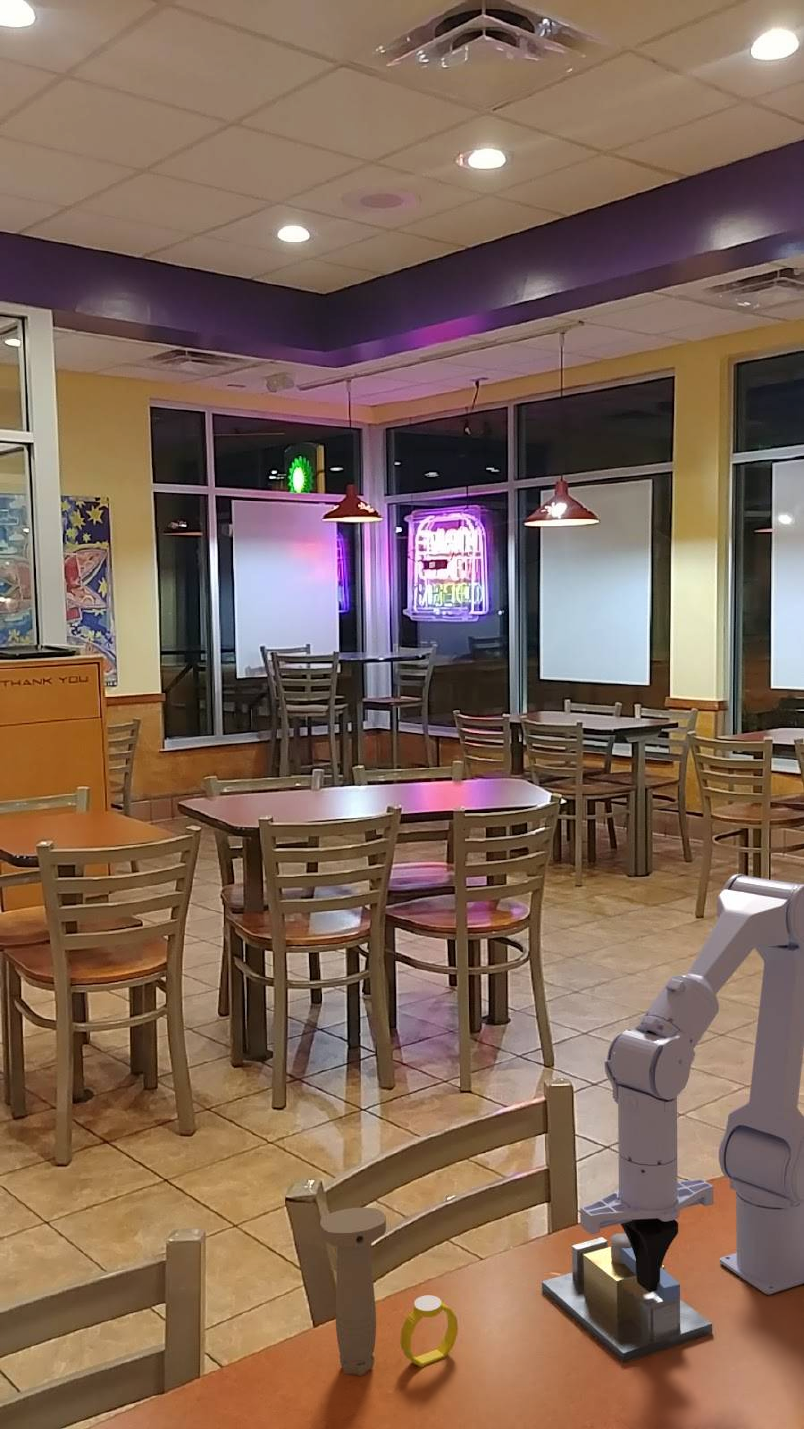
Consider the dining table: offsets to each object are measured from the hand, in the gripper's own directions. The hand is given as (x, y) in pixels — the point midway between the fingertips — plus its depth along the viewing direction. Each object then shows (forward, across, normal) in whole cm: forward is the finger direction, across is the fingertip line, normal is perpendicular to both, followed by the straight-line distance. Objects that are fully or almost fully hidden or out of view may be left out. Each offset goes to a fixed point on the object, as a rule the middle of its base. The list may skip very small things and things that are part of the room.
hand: (648, 1286), depth 121 cm
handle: (+7, -27, +10) cm, 30 cm away
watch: (+7, -20, +8) cm, 23 cm away
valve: (+7, +2, +7) cm, 10 cm away
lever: (+1, +2, +3) cm, 3 cm away
